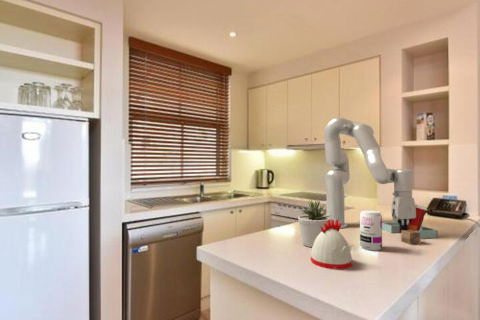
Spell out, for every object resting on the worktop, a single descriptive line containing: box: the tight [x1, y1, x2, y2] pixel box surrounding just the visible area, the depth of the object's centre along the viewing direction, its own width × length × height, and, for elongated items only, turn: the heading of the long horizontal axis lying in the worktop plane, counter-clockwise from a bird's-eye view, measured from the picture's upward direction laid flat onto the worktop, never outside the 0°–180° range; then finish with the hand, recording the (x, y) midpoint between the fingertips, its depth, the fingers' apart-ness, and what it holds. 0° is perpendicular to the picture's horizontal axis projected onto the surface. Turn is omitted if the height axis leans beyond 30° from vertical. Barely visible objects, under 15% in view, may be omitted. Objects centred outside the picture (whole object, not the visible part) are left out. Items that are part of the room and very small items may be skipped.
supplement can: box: [359, 209, 383, 252], centre depth 114 cm, size 8×8×15 cm
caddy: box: [382, 221, 439, 240], centre depth 138 cm, size 15×19×4 cm
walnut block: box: [400, 230, 421, 246], centre depth 122 cm, size 5×5×5 cm
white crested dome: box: [310, 220, 353, 270], centre depth 99 cm, size 14×14×15 cm
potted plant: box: [297, 198, 332, 248], centre depth 119 cm, size 13×14×20 cm
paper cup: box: [407, 204, 428, 231], centre depth 135 cm, size 8×8×14 cm
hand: (403, 232), depth 134 cm, fingers closed
